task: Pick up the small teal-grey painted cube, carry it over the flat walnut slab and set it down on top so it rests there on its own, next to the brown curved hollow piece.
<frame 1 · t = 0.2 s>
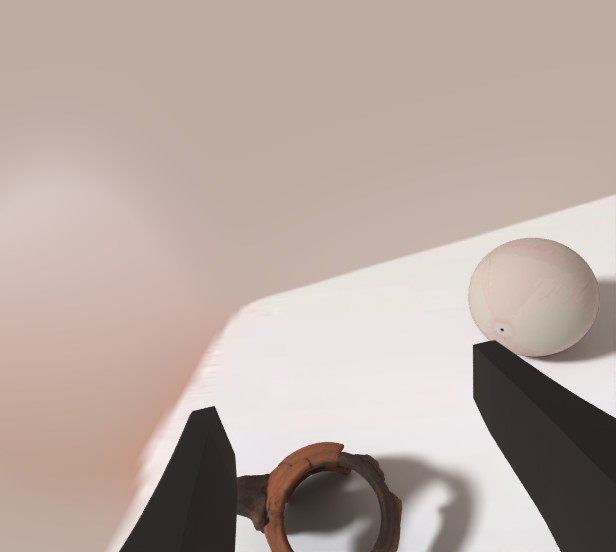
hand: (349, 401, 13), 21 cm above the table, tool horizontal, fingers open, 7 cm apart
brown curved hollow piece: (319, 535, 32), on the table
eye model: (530, 343, 42), on the table
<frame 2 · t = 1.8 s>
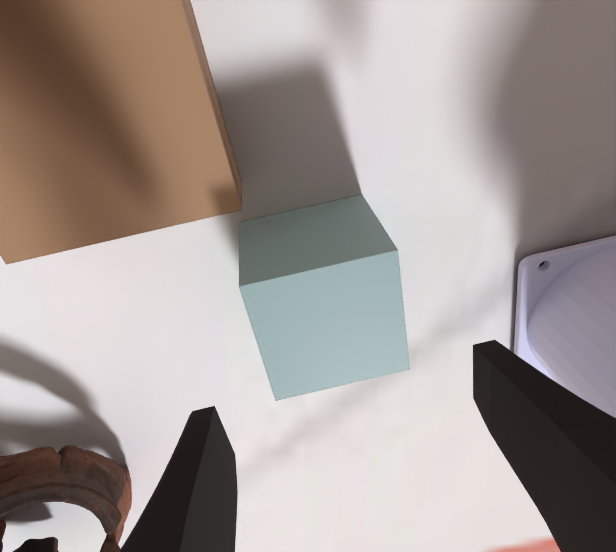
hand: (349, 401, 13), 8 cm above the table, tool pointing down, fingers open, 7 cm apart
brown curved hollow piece: (41, 483, 25), on the table
cube: (311, 261, 20), on the table
slab: (97, 96, 16), on the table
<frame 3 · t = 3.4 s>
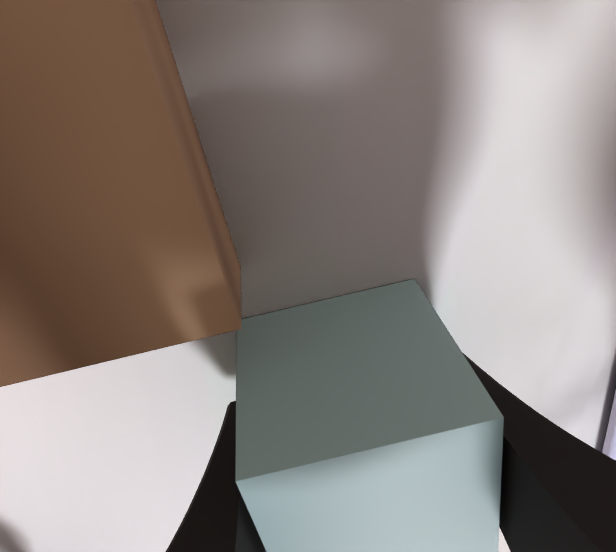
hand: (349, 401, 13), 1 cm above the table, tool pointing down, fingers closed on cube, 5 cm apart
cube: (339, 366, 14), on the table, touching gripper
slab: (12, 147, 10), on the table
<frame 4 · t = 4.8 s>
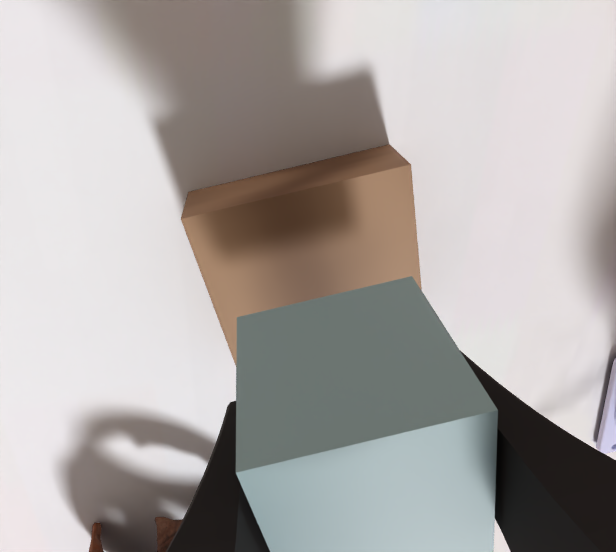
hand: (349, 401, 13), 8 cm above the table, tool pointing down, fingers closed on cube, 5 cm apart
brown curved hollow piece: (181, 531, 29), on the table
cube: (338, 363, 14), point 7 cm above the table, touching gripper
slab: (308, 252, 20), on the table
when the fingers open (6 cm above the table, at t = 6.2 s): cube drops 1 cm, point 3 cm above the table.
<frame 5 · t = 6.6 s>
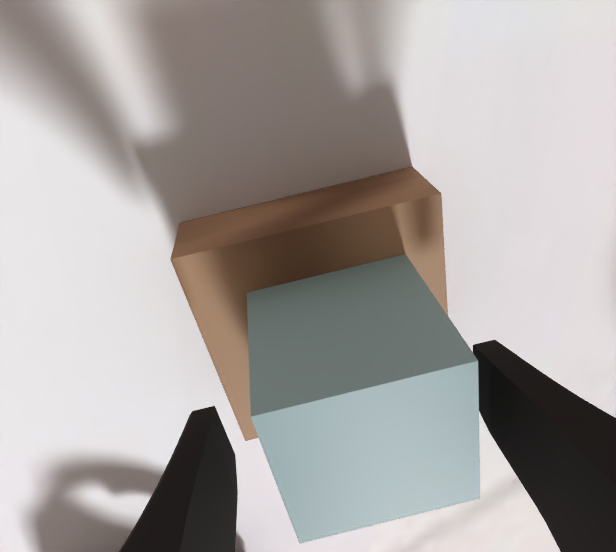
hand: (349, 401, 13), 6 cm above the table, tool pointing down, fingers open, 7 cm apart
cube: (339, 336, 15), point 3 cm above the table
slab: (317, 286, 18), on the table
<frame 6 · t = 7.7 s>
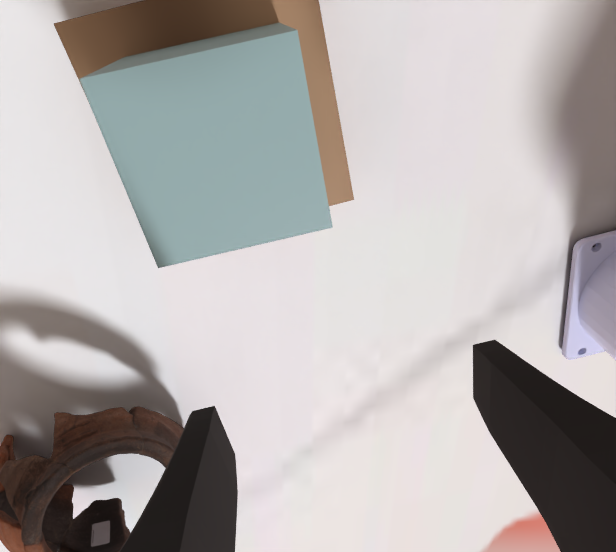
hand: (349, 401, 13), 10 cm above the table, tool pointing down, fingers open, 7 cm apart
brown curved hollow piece: (105, 448, 27), on the table
cube: (224, 119, 16), point 3 cm above the table
slab: (224, 106, 19), on the table
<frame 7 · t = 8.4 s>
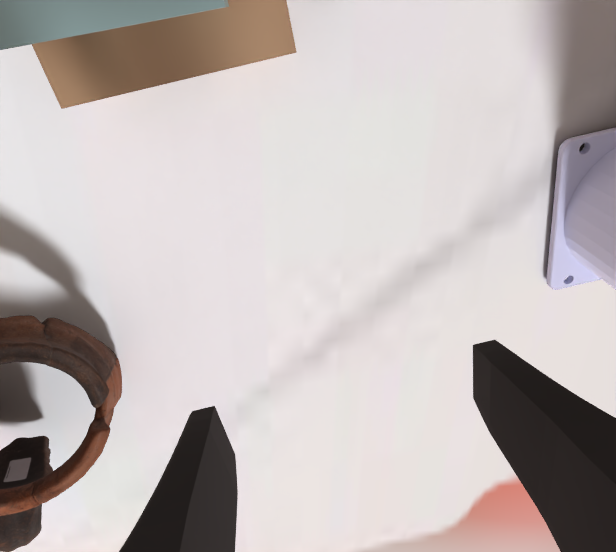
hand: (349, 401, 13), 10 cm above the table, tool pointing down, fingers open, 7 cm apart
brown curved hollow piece: (30, 378, 24), on the table
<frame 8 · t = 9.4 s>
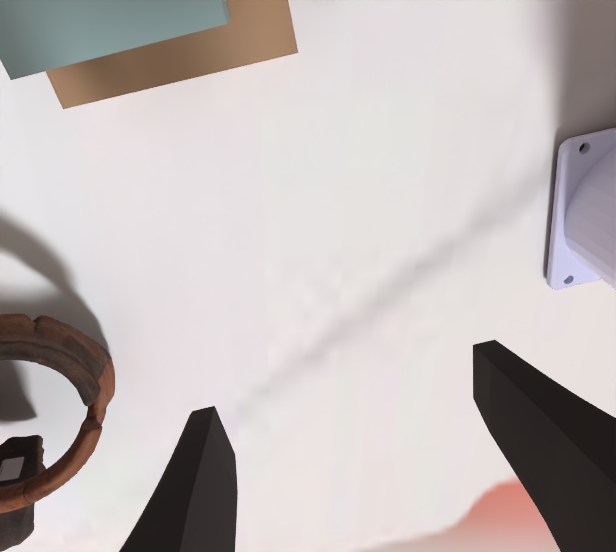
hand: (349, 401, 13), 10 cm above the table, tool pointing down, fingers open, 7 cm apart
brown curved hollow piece: (23, 377, 24), on the table
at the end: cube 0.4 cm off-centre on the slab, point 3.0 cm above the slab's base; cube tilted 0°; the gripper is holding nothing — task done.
